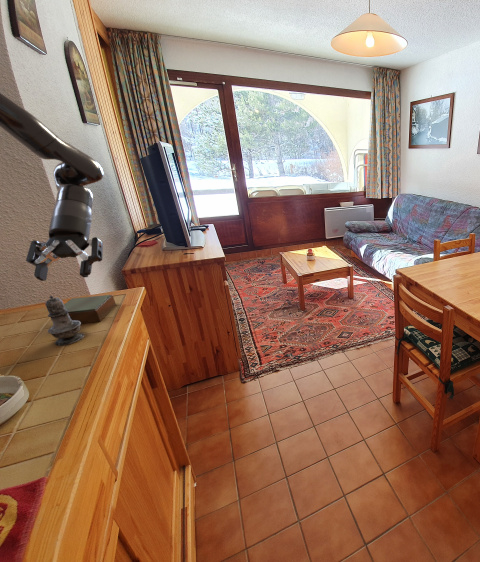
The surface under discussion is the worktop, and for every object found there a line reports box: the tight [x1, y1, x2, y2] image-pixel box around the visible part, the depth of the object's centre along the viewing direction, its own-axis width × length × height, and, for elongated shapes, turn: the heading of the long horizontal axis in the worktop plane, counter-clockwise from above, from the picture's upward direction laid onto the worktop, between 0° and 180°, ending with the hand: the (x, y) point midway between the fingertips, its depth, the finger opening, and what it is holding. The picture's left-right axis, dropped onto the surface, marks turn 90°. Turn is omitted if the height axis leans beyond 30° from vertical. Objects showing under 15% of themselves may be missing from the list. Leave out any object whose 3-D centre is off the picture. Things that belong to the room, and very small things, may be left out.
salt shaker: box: [44, 295, 85, 346], centre depth 74 cm, size 6×6×12 cm
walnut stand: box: [51, 294, 117, 325], centre depth 86 cm, size 10×10×4 cm
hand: (62, 277), depth 76 cm, fingers open, 8 cm apart
